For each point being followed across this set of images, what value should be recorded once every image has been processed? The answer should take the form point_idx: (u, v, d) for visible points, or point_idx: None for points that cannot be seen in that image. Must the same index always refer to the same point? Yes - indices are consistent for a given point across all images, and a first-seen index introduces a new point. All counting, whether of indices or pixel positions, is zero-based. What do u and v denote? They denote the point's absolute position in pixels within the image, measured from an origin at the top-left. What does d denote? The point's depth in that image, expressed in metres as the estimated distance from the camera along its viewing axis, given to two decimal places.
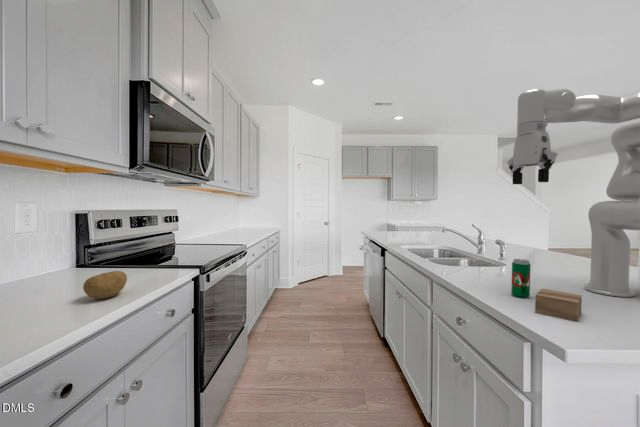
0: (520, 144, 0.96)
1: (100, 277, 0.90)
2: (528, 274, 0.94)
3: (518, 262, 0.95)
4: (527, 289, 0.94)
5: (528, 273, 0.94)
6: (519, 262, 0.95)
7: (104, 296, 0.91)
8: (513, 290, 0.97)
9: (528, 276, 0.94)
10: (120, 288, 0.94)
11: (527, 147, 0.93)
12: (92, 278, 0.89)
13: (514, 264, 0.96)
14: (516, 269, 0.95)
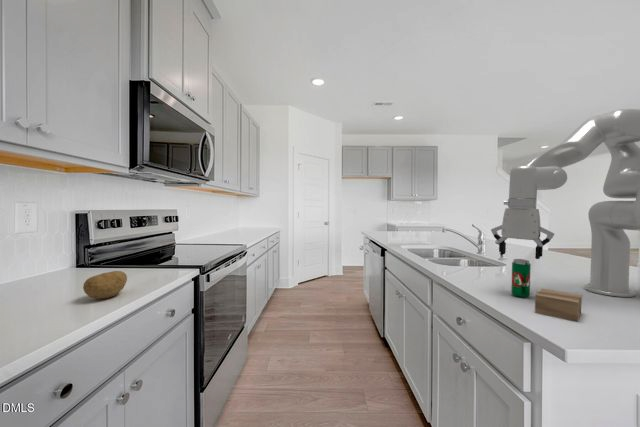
0: None
1: (100, 277, 0.90)
2: (528, 274, 0.94)
3: (518, 262, 0.95)
4: (527, 289, 0.94)
5: (528, 273, 0.94)
6: (519, 262, 0.95)
7: (104, 296, 0.91)
8: (513, 290, 0.97)
9: (528, 276, 0.94)
10: (120, 288, 0.94)
11: None
12: (92, 278, 0.89)
13: (514, 264, 0.96)
14: (516, 269, 0.95)
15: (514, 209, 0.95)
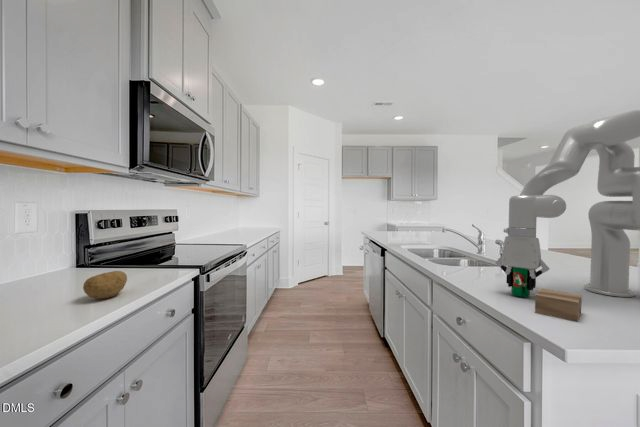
0: None
1: (100, 277, 0.90)
2: (528, 274, 0.94)
3: None
4: (527, 289, 0.94)
5: (528, 273, 0.94)
6: None
7: (104, 296, 0.91)
8: (513, 290, 0.97)
9: (528, 276, 0.94)
10: (120, 288, 0.94)
11: None
12: (92, 278, 0.89)
13: None
14: (516, 269, 0.95)
15: (514, 238, 0.96)
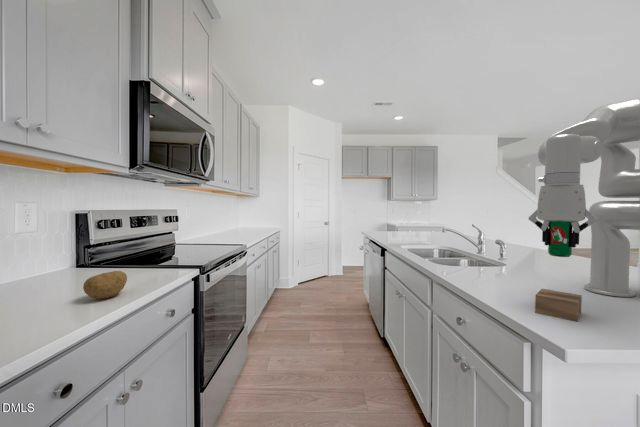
0: None
1: (100, 277, 0.90)
2: (570, 228, 0.79)
3: None
4: (569, 246, 0.79)
5: (570, 227, 0.79)
6: None
7: (104, 296, 0.91)
8: (551, 248, 0.81)
9: (570, 231, 0.79)
10: (120, 288, 0.94)
11: None
12: (92, 278, 0.89)
13: None
14: (555, 223, 0.80)
15: (553, 186, 0.80)
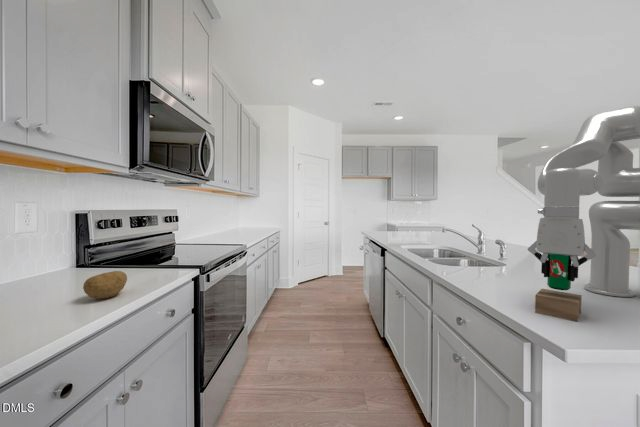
0: None
1: (100, 277, 0.90)
2: (569, 261, 0.79)
3: None
4: (568, 279, 0.79)
5: (569, 261, 0.79)
6: None
7: (104, 296, 0.91)
8: (550, 281, 0.81)
9: (569, 264, 0.79)
10: (120, 288, 0.94)
11: None
12: (92, 278, 0.89)
13: None
14: (554, 256, 0.80)
15: (552, 219, 0.80)
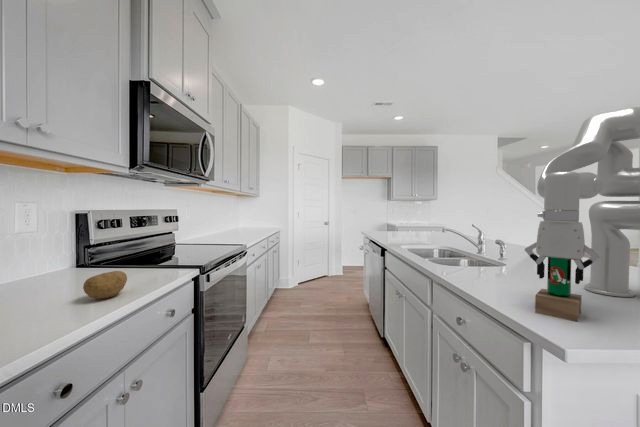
0: None
1: (100, 277, 0.90)
2: (569, 268, 0.79)
3: None
4: (568, 286, 0.79)
5: (569, 267, 0.79)
6: None
7: (104, 296, 0.91)
8: (550, 288, 0.82)
9: (569, 271, 0.79)
10: (120, 288, 0.94)
11: None
12: (92, 278, 0.89)
13: (551, 257, 0.81)
14: (554, 263, 0.81)
15: (552, 223, 0.81)
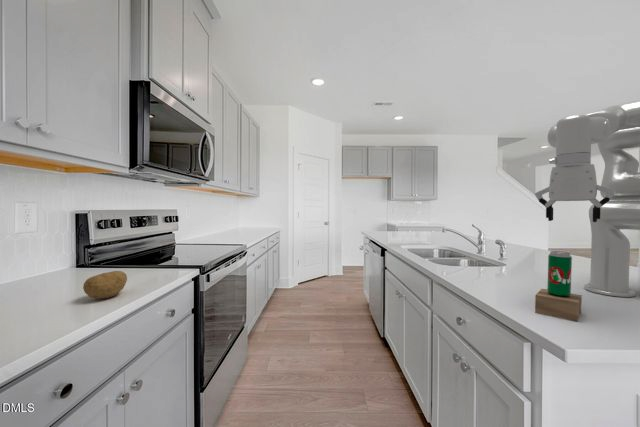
0: None
1: (100, 277, 0.90)
2: (569, 268, 0.79)
3: (557, 254, 0.80)
4: (568, 286, 0.79)
5: (569, 267, 0.79)
6: (558, 254, 0.80)
7: (104, 296, 0.91)
8: (550, 288, 0.82)
9: (569, 271, 0.79)
10: (120, 288, 0.94)
11: None
12: (92, 278, 0.89)
13: (552, 257, 0.81)
14: (554, 263, 0.81)
15: (564, 167, 0.83)
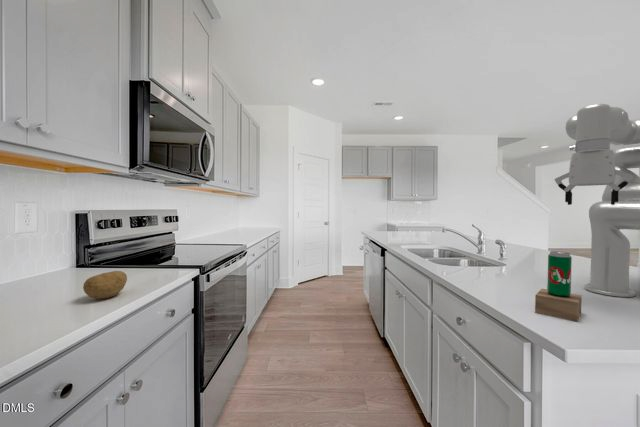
0: None
1: (100, 277, 0.90)
2: (569, 268, 0.79)
3: (557, 254, 0.80)
4: (568, 286, 0.79)
5: (569, 267, 0.79)
6: (558, 254, 0.80)
7: (104, 296, 0.91)
8: (550, 288, 0.82)
9: (569, 271, 0.79)
10: (120, 288, 0.94)
11: None
12: (92, 278, 0.89)
13: (551, 257, 0.81)
14: (554, 263, 0.81)
15: (584, 153, 0.87)
